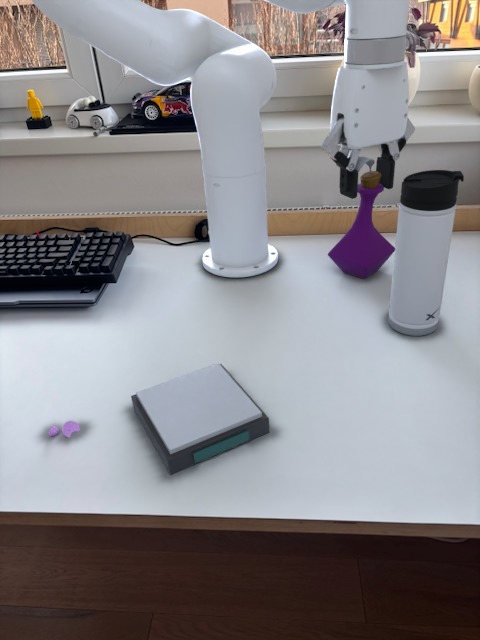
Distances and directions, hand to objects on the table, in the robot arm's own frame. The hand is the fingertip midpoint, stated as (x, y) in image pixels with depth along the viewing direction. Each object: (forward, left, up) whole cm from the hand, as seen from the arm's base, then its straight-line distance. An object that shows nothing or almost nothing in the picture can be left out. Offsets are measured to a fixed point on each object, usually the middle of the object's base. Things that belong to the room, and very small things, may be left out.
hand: (366, 190), depth 78 cm
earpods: (+12, -49, -13) cm, 52 cm away
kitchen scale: (+18, -36, -13) cm, 42 cm away
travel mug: (+16, -4, -13) cm, 21 cm away
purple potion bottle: (0, 0, -13) cm, 13 cm away
